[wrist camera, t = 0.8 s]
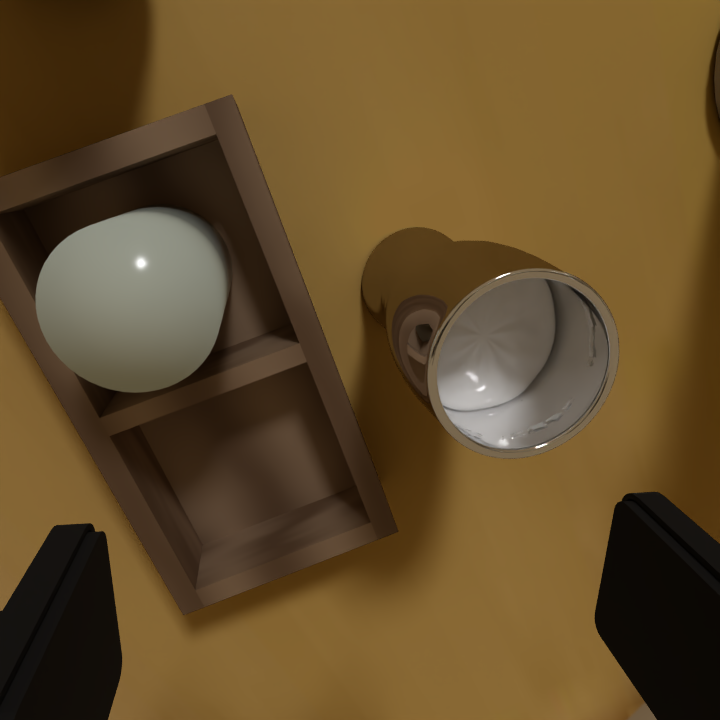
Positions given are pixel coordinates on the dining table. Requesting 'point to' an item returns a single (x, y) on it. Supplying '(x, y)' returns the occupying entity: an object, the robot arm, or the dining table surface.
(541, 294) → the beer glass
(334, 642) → the dining table surface
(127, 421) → the carrier
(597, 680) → the dining table surface
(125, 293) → the grey rounded piece
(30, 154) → the dining table surface
